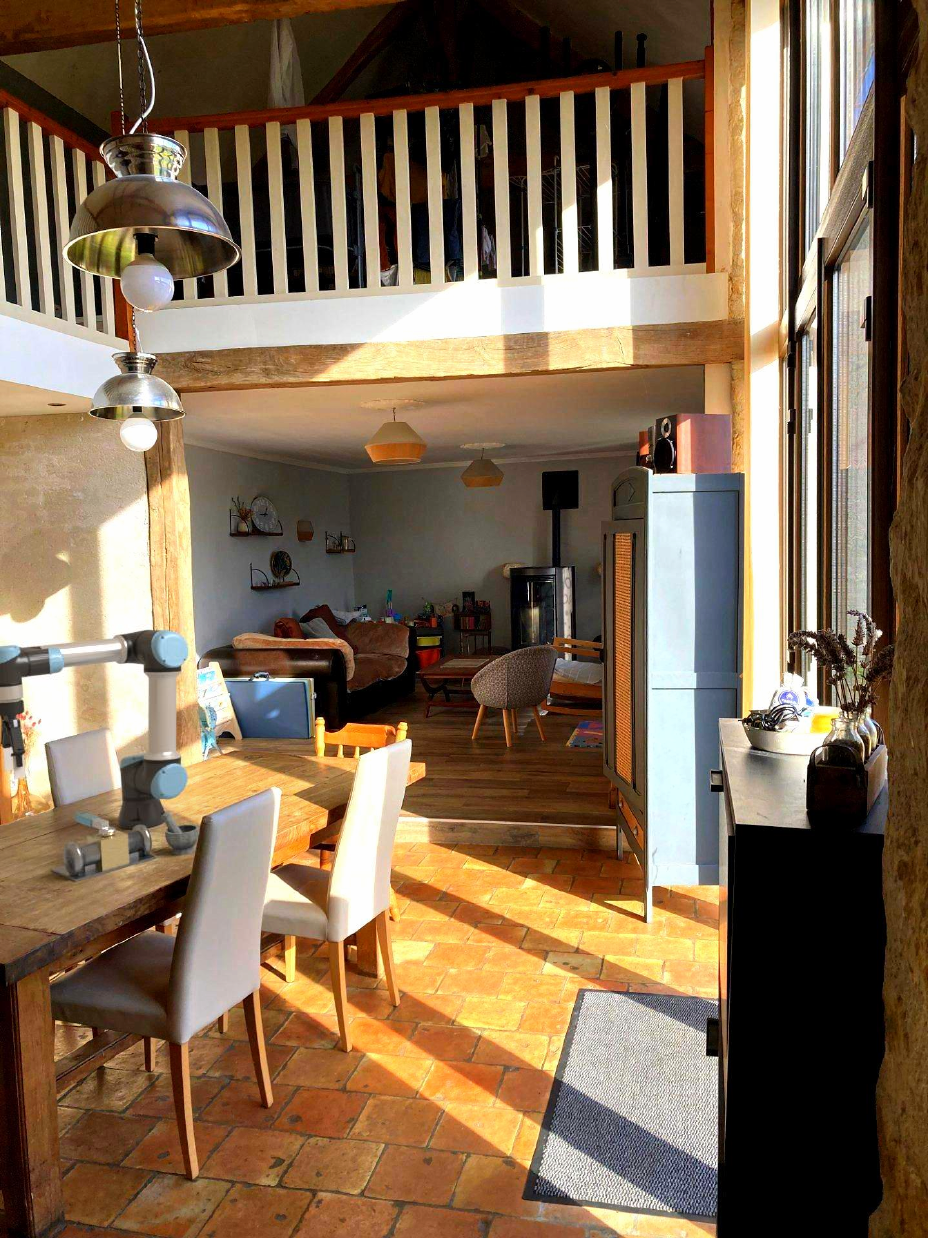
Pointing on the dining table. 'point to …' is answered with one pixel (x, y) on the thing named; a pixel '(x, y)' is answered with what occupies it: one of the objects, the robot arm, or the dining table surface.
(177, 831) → the mortar and pestle
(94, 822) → the lever
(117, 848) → the valve body
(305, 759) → the dining table surface
